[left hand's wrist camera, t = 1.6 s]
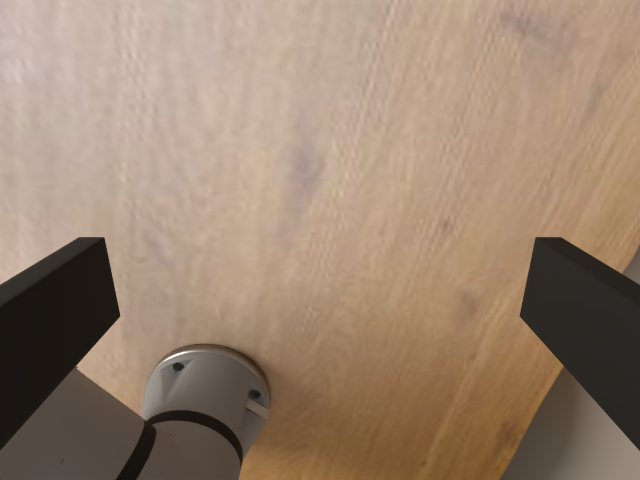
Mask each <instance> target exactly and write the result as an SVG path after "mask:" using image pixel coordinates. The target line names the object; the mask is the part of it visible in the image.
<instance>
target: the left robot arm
mask: <svg viewBox="0 0 640 480" xmlns="http://www.w3.org/2000/svg"><path fill="white" fill-rule="evenodd" d="M119 317H120V312H119V307H118V302H117V297H116V292H115V287H114V282H113V278H112V273H111V268H110V263H109V258H108V253H107V248H106V243H105V238H104V237H79V238H77V239H76V240H74V241H72V242H71V243H69V244H67V245H66V246H64V247H62V248H61V249H59V250H57V251H56V252H54V253H52V254H51V255H49V256H47V257H46V258H44V259H42V260H41V261H39V262H37V263H36V264H34V265H32V266H31V267H29V268H27V269H26V270H24V271H22V272H21V273H19V274H17V275H16V276H14V277H12V278H11V279H9V280H8V281H6V282H4V283H3V284H1V285H0V480H239V475H240V470H241V465H242V461H243V458H244V457H245V455H246V454H247V452H248V450H249V449H250V447H251V446H252V444H253V442H254V441H255V439H256V438H257V436H258V435H259V433H260V431H261V430H262V428H263V426H264V424H265V422H266V419H267V420H268V419H269V413H270V411H269V407H270V401H271V394H270V388H269V385H268V382H267V380H266V378H265V376H264V374H263V373H262V371H261V370H260V369H259V368H258V367H257V365H256V364H254V363H253V362H252V361H251V360H250V359H248V358H247V357H246V356H244V355H242V354H241V353H239V352H237V351H234V350H232V349H229V348H226V347H223V346H218V345H212V344H195V345H189V346H185V347H181V348H179V349H176V350H174V351H172V352H170V353H169V354H167V355H166V356H165V357H163V358H162V359H161V360H160V361H159V363H158V364H157V365H156V367H155V368H154V370H153V372H152V373H151V375H150V377H149V379H148V381H147V384H146V387H145V390H144V396H143V403H142V410H141V416H139V415H138V414H137V413H135V412H134V411H132V410H131V409H130V408H128V407H127V406H126V405H124V404H123V403H122V402H120V401H119V400H118V399H116V398H115V397H113V396H112V395H111V394H109V393H108V392H107V391H105V390H104V389H103V388H101V387H100V386H99V385H97V384H96V383H95V382H93V381H92V380H90V379H89V378H88V377H86V376H85V375H84V374H83V373H81V372H80V371H79V370H77V369H76V368H77V366H76V365H77V364H78V363H79V362H80V361H81V360H82V359H83V357H84V356H85V355H86V354H87V353H88V352H89V351H90V350H91V348H92V347H93V346H94V345H95V344H96V343H97V342H98V341H99V339H100V338H101V337H102V336H103V335H104V334H105V333H106V332H107V331H108V329H109V328H110V327H111V326H112V325H113V324H114V323H115V322H116V320H117V319H118V318H119ZM520 317H521V318H522V319H523V320H524V322H525V323H526V324H527V325H528V326H529V327H530V328H531V329H532V331H533V332H534V333H535V334H536V335H537V336H538V337H539V338H540V339H541V341H542V342H543V343H544V344H545V345H546V346H547V347H548V348H549V350H550V351H551V352H552V353H553V354H554V355H555V356H556V357H557V359H558V360H559V361H560V362H561V363H562V364H563V365H564V366H565V368H566V369H567V370H568V371H569V372H570V373H571V374H572V375H573V376H574V378H575V379H576V380H577V381H578V382H579V383H580V384H581V385H582V387H583V388H584V389H585V390H586V391H587V392H588V393H589V394H590V396H591V397H592V398H593V399H594V400H595V401H596V402H597V403H598V405H599V406H600V407H601V408H602V409H603V410H604V411H605V412H606V413H607V415H608V416H609V417H610V418H611V419H612V420H613V421H614V422H615V424H616V425H617V426H618V427H619V428H620V429H621V430H622V431H623V433H624V434H625V435H626V436H627V437H628V438H629V439H630V440H631V442H632V443H633V444H634V445H635V446H636V447H637V448H638V449H639V450H640V285H639V284H637V283H636V282H634V281H632V280H631V279H629V278H628V277H626V276H624V275H622V274H621V273H619V272H618V271H616V270H614V269H613V268H611V267H609V266H608V265H606V264H604V263H603V262H601V261H599V260H598V259H596V258H594V257H593V256H591V255H589V254H588V253H586V252H584V251H583V250H581V249H579V248H578V247H576V246H574V245H573V244H571V243H569V242H568V241H566V240H564V239H563V238H561V237H536V238H535V243H534V248H533V253H532V258H531V263H530V268H529V273H528V278H527V282H526V287H525V292H524V297H523V302H522V307H521V312H520Z"/></svg>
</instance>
